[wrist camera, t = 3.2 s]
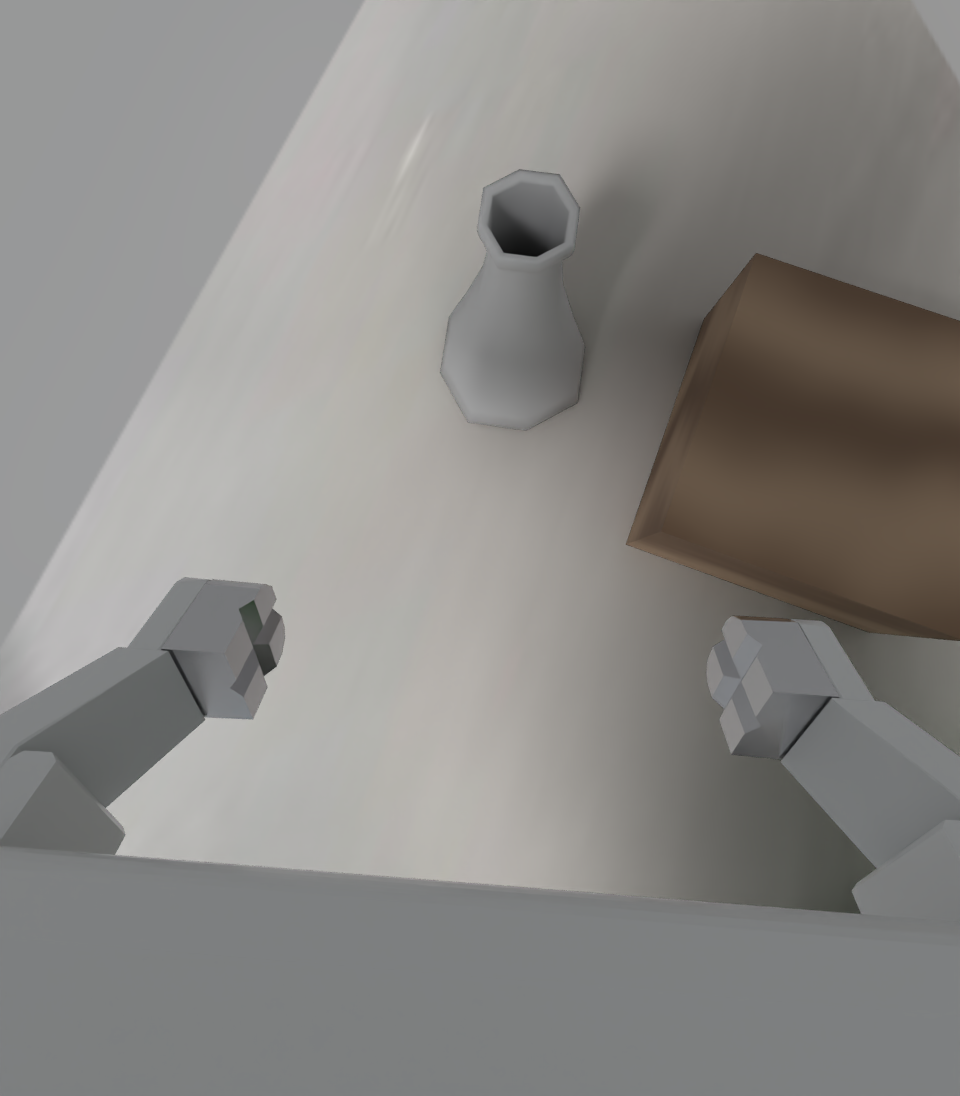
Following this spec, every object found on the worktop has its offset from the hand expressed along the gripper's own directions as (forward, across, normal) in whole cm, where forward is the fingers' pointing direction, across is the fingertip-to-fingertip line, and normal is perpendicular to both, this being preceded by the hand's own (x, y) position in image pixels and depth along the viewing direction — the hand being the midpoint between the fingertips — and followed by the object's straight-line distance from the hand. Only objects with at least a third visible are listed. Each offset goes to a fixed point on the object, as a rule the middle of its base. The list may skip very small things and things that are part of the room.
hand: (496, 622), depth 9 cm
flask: (+20, 0, +2) cm, 20 cm away
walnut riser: (+16, -14, +6) cm, 22 cm away
